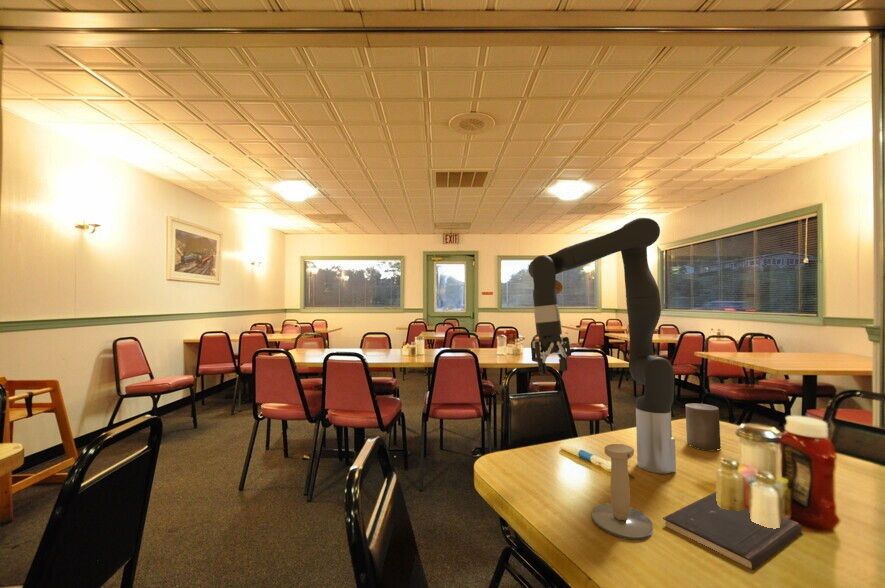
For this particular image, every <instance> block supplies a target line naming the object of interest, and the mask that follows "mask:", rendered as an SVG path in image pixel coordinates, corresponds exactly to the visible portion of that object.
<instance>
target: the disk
mask: <svg viewBox="0 0 885 588" xmlns="http://www.w3.org/2000/svg"><path fill="white" fill-rule="evenodd" d="M612 511H613V508H612V505H611V502H610V503H609V502H605V503H600V504H598V505H595V506H594V507H593V508H592V510H591V519H592V522H593V523H594V525H595V526H597V528H598V529H600V530H601V531H603V532H605V533H606V534H608V533H609V535H611V536H613V537H616V538H619V537H620V539H624V540H627V541H628V540H630V541H631V540H632V541H641V540H645V539H648V538H651V536H652V535H653V532H654V531H653V522H652V520H651V519H650V518H649V517H648V516H647V515H646V514H644V513H643V512H642V511H640V510H638V509H636V508H634V507H631V506H630V507H629V515H628V519H627V520H618V519H617V518H616V517H614V516H613V513H612Z"/></svg>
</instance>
